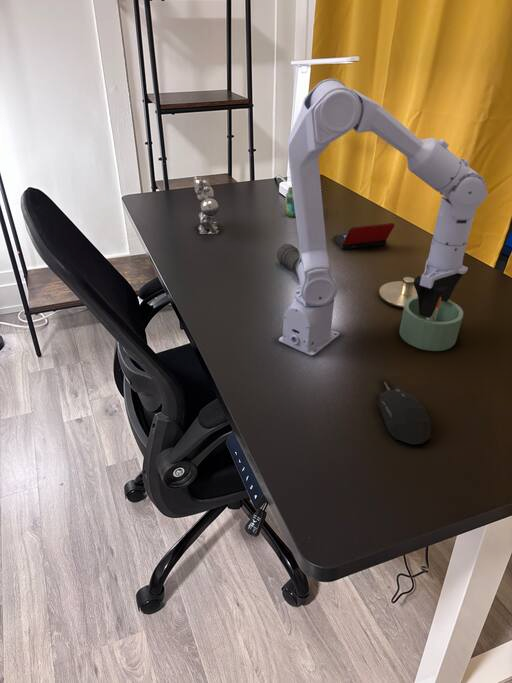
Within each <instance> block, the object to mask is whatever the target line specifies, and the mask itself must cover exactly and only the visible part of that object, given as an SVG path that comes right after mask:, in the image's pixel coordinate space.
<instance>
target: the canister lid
mask: <svg viewBox="0 0 512 683" xmlns="http://www.w3.org/2000/svg"><path fill="white" fill-rule="evenodd" d="M414 279H415V278H413V277H410V276H405V277H403V279H402V280H397V281H396V280H395V281H389V282H387V283H384V284H382V285H381V286H380V287H379V290H378V295H379V297H380V298H381V299H382V300H383V301H384V302H385V303H386V304H389V305H391V306H395V307H397V308H401V309H404V305H405V302H406V301H407V300H408V299H410V298H412V297H415V296H418V295H417V292H416V289H415V287H414Z"/></svg>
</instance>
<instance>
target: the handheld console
mask: <svg viewBox="0 0 512 683" xmlns="http://www.w3.org/2000/svg"><path fill="white" fill-rule="evenodd" d="M394 228H395V223H393V222H390V223H381V224H372V225H363V226H354V227H350V228H349V229H348V231H347V233H342V234H337V235H333V238H332V239H333V241H334V242H335V243H336V244H337V245H338V246H339V247H340V248H341V250H351V249H356V248H357V249H359V248H366V247H376V246H384V245H386V243H387V239H388V238H389V237H390V235H391V233H392V231H393V229H394Z"/></svg>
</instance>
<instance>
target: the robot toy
mask: <svg viewBox="0 0 512 683" xmlns="http://www.w3.org/2000/svg"><path fill="white" fill-rule="evenodd" d="M205 178H206V177H202V176H200V175H197V176H195V177H194V178H193V189H194V191H195V195H196V199H197V201H198V202H199V203H200V211H201V212H199V214H198V215H197V216H198V220H199V223H200V225H199V226H198V227H197V229H198V231H199V234H200V235H218V234H219V233H220V230H219V226H218V224H216V223H217V221H214V217H215V215H217V213H218V212H219V208H220V207H219V203H218V202H217V200H216V199H214V198H215V193H214V192H215V191H214V189H213V188H212V186H211V184H210V183H209V179H210V178H207V179H205Z"/></svg>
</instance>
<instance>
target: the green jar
mask: <svg viewBox="0 0 512 683" xmlns="http://www.w3.org/2000/svg"><path fill="white" fill-rule="evenodd" d="M284 201H285V203H284V204H285V207H284V208H285V209H284V212H285V215H287V216H288V217H291V218H296V215H295V207H294V199H293V191H292V186H290V187H287V193H286V194H285V200H284Z"/></svg>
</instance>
